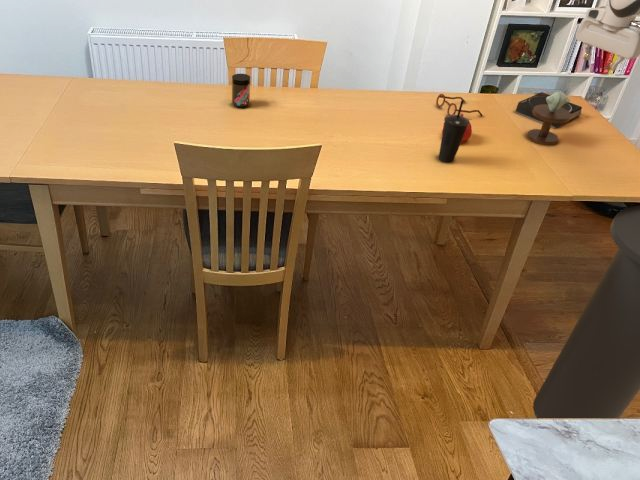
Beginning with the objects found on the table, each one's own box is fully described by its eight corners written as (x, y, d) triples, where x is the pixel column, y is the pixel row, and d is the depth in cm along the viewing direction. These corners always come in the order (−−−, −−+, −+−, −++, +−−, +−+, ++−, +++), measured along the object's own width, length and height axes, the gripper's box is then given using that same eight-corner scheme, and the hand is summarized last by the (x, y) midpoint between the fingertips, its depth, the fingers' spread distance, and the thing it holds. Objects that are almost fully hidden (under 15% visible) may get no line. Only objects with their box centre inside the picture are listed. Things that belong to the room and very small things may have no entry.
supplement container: (230, 107, 215) (230, 79, 208) (233, 100, 220) (233, 72, 213) (248, 109, 215) (249, 81, 208) (250, 102, 220) (251, 74, 213)
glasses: (434, 104, 224) (437, 92, 221) (464, 102, 227) (468, 89, 224) (451, 119, 215) (455, 106, 211) (482, 116, 217) (486, 103, 214)
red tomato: (457, 130, 208) (465, 105, 202) (474, 143, 201) (482, 117, 195) (434, 134, 205) (440, 108, 199) (450, 147, 198) (457, 121, 192)
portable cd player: (556, 128, 212) (560, 118, 209) (515, 112, 222) (518, 102, 219) (579, 117, 220) (583, 107, 217) (538, 102, 230) (541, 92, 227)
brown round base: (567, 142, 204) (578, 115, 197) (543, 149, 199) (554, 121, 193) (539, 128, 212) (550, 101, 205) (516, 134, 207) (526, 107, 200)
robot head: (542, 113, 197) (549, 94, 193) (538, 108, 200) (545, 89, 196) (566, 114, 197) (574, 95, 193) (561, 109, 200) (569, 90, 196)
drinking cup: (460, 165, 188) (478, 106, 175) (437, 164, 188) (453, 105, 175) (454, 154, 194) (471, 95, 181) (431, 153, 194) (446, 94, 181)
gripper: (657, 26, 166) (635, 74, 175) (596, 6, 179) (578, 52, 188) (644, 28, 163) (621, 77, 172) (582, 8, 177) (564, 54, 186)
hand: (598, 64), depth 180 cm, fingers open, 8 cm apart
